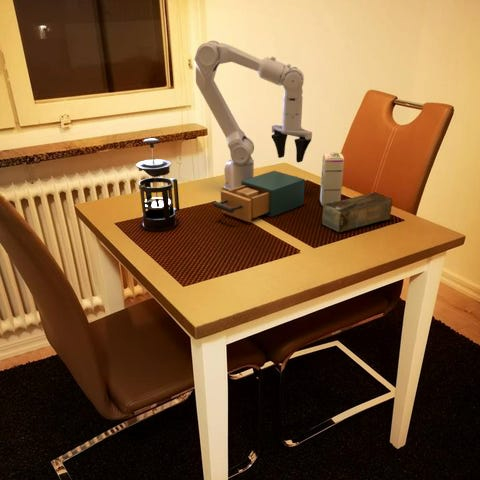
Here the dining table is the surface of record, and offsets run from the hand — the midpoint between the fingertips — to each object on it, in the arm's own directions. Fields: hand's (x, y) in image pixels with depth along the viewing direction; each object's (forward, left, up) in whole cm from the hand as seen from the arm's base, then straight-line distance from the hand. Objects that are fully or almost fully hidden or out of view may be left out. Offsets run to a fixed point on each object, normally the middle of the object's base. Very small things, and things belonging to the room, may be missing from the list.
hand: (290, 159), depth 155 cm
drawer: (+5, -25, -10) cm, 27 cm away
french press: (-7, -46, -11) cm, 48 cm away
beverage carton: (+30, -6, -11) cm, 33 cm away
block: (+5, -24, -9) cm, 26 cm away
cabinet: (+5, -13, -10) cm, 17 cm away
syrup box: (+16, +1, -11) cm, 19 cm away
